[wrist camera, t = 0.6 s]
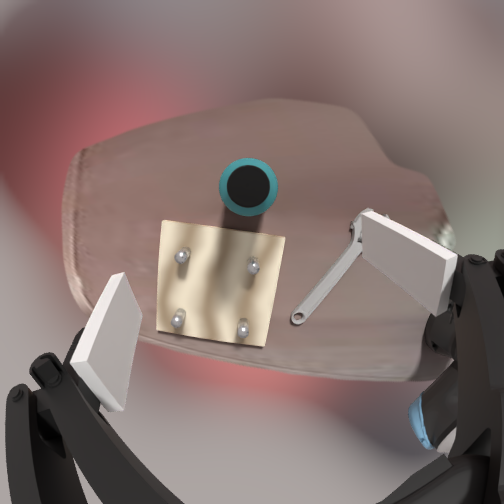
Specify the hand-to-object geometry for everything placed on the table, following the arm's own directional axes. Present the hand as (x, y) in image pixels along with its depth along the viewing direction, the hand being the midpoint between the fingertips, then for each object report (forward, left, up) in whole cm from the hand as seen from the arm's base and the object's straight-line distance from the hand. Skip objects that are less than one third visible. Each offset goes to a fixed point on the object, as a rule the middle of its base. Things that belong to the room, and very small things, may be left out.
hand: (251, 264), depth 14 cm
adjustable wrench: (-16, +6, -32) cm, 36 cm away
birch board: (+4, +13, -31) cm, 34 cm away
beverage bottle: (+1, -4, -31) cm, 32 cm away
